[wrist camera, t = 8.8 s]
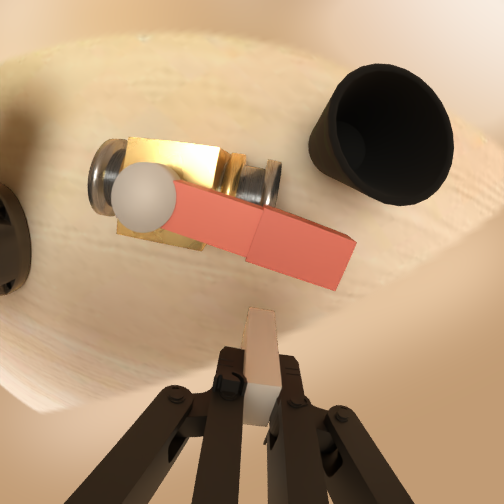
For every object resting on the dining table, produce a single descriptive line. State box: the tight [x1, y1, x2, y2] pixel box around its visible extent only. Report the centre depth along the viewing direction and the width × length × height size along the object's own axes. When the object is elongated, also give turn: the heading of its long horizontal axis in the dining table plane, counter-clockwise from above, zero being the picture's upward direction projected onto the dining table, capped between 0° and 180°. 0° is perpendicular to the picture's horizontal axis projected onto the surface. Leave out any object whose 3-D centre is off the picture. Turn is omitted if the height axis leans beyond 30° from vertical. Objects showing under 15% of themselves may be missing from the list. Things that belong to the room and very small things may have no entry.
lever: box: [111, 162, 357, 291], centre depth 14 cm, size 13×4×2 cm, turn 71°
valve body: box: [88, 137, 282, 251], centre depth 20 cm, size 14×7×10 cm, turn 79°
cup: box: [308, 64, 454, 206], centre depth 18 cm, size 8×8×12 cm
